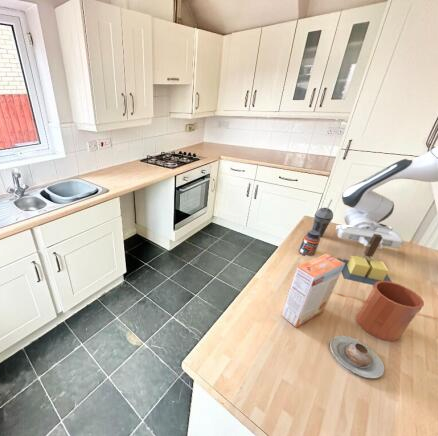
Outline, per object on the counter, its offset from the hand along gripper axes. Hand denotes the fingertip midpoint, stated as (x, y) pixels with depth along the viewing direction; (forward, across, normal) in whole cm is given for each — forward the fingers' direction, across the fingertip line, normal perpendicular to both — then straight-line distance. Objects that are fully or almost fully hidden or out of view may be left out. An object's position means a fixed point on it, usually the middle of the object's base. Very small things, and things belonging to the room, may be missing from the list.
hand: (373, 246), depth 93 cm
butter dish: (+3, 0, +12) cm, 12 cm away
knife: (-1, 0, +11) cm, 11 cm away
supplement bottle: (-4, -19, +12) cm, 23 cm away
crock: (+30, -3, +12) cm, 32 cm away
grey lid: (+45, -12, +12) cm, 48 cm away
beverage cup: (-22, -13, +12) cm, 29 cm away
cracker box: (+34, -24, +12) cm, 43 cm away
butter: (+3, 0, +12) cm, 12 cm away
